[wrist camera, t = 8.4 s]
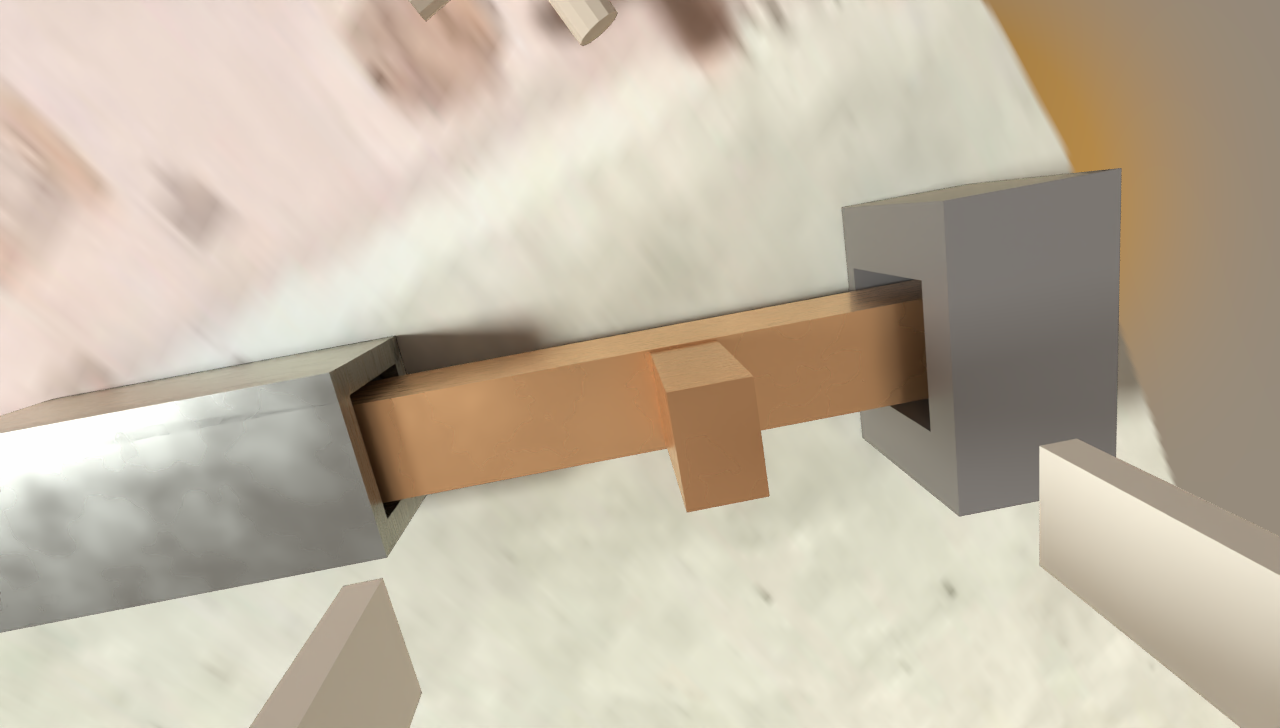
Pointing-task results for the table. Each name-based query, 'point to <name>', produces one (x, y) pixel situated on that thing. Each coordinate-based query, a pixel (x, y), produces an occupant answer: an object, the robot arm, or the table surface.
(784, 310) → the orange-brown sliding bolt
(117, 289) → the table surface
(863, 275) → the socket block
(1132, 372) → the table surface
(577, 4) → the cream cross joint
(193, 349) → the table surface
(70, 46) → the table surface
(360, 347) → the sleeve
